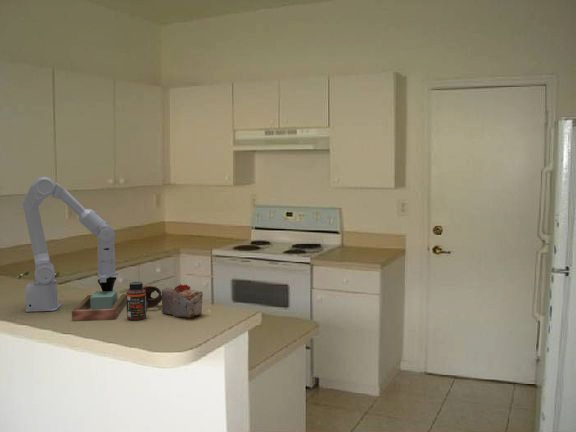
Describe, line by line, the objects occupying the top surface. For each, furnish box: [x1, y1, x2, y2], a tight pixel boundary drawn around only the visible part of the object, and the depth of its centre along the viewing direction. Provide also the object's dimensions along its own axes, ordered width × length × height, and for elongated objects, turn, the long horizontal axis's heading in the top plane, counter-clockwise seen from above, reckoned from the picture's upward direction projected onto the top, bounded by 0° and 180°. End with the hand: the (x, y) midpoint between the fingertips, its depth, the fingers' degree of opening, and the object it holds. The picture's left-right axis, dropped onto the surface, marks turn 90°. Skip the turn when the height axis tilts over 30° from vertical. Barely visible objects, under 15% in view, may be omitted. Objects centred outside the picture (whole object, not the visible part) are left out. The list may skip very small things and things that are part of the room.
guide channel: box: [71, 293, 127, 322], centre depth 190 cm, size 13×22×3 cm, turn 6°
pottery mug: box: [143, 285, 162, 311], centre depth 194 cm, size 12×10×8 cm
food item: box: [161, 283, 203, 319], centre depth 185 cm, size 14×8×10 cm, turn 57°
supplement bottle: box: [125, 281, 147, 321], centre depth 181 cm, size 6×6×11 cm
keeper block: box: [90, 290, 118, 310], centre depth 195 cm, size 7×9×4 cm
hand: (107, 298), depth 201 cm, fingers closed
